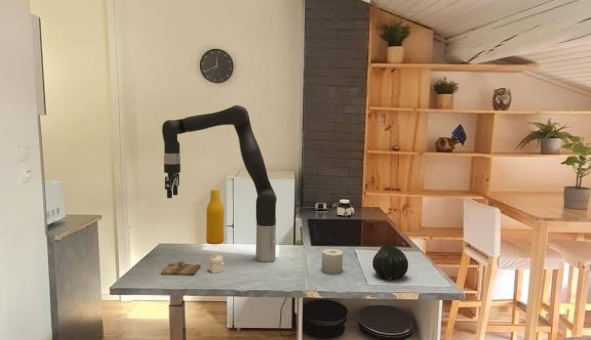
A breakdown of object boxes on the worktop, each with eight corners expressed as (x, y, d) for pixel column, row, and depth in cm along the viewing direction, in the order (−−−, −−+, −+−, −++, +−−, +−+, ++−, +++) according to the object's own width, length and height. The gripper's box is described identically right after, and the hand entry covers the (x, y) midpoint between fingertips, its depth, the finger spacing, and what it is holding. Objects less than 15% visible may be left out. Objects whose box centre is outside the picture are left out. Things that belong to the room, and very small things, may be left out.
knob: (219, 267, 185) (220, 253, 185) (225, 271, 181) (225, 256, 180) (208, 269, 182) (208, 255, 182) (212, 273, 178) (213, 258, 177)
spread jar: (336, 217, 293) (337, 201, 291) (337, 213, 304) (338, 198, 302) (353, 218, 291) (354, 201, 289) (354, 214, 302) (354, 199, 300)
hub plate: (200, 266, 185) (200, 258, 185) (193, 275, 174) (193, 266, 174) (169, 265, 186) (169, 257, 185) (161, 274, 175) (161, 265, 174)
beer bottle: (215, 238, 230) (215, 187, 227) (227, 242, 225) (227, 189, 221) (202, 242, 222) (202, 189, 219) (214, 245, 217) (214, 191, 214)
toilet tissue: (328, 263, 195) (328, 245, 194) (346, 272, 184) (347, 253, 183) (312, 266, 190) (313, 248, 189) (330, 275, 179) (331, 256, 178)
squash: (417, 270, 172) (405, 238, 180) (385, 275, 168) (374, 241, 176) (403, 282, 183) (392, 251, 191) (373, 287, 179) (363, 255, 187)
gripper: (175, 164, 187) (175, 199, 188) (184, 161, 201) (184, 194, 203) (159, 163, 187) (159, 199, 189) (169, 161, 201) (169, 193, 203)
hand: (172, 196), depth 196 cm, fingers open, 8 cm apart
